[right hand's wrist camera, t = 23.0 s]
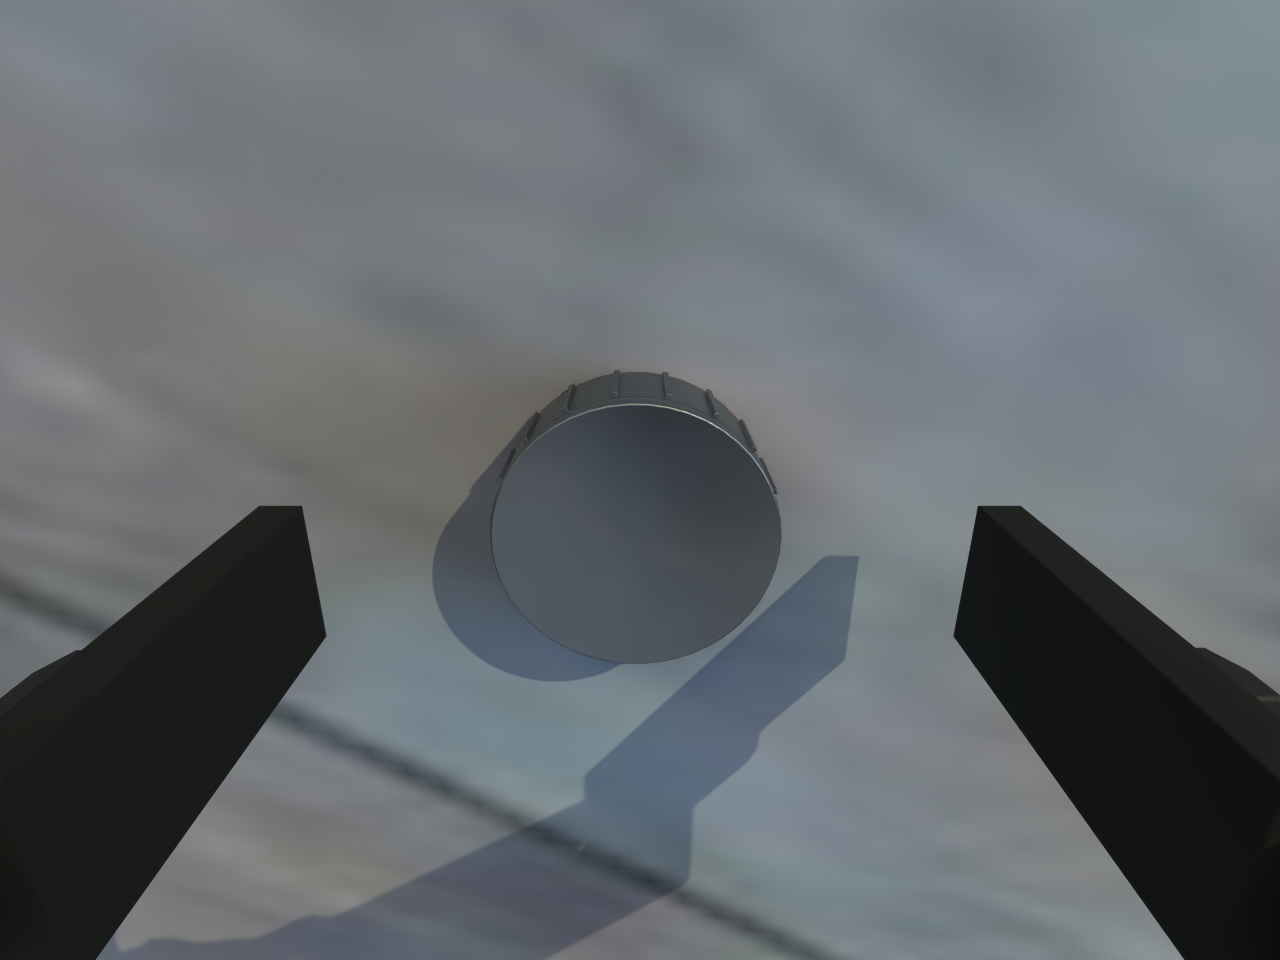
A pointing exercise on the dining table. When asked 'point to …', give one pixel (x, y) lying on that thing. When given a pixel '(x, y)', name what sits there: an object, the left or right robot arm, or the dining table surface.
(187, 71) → the dining table surface
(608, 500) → the lid
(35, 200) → the dining table surface
